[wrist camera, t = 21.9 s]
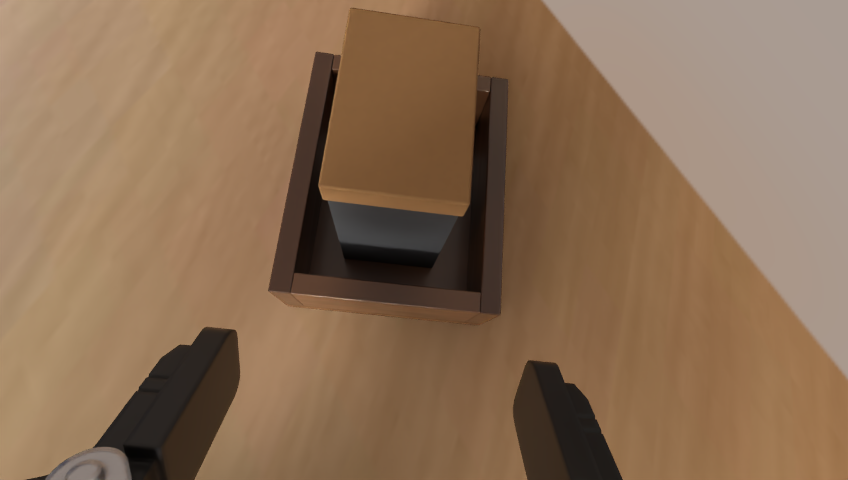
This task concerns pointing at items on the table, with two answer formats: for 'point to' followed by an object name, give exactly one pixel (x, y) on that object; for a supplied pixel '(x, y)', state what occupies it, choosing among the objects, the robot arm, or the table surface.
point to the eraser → (401, 136)
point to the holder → (383, 282)
